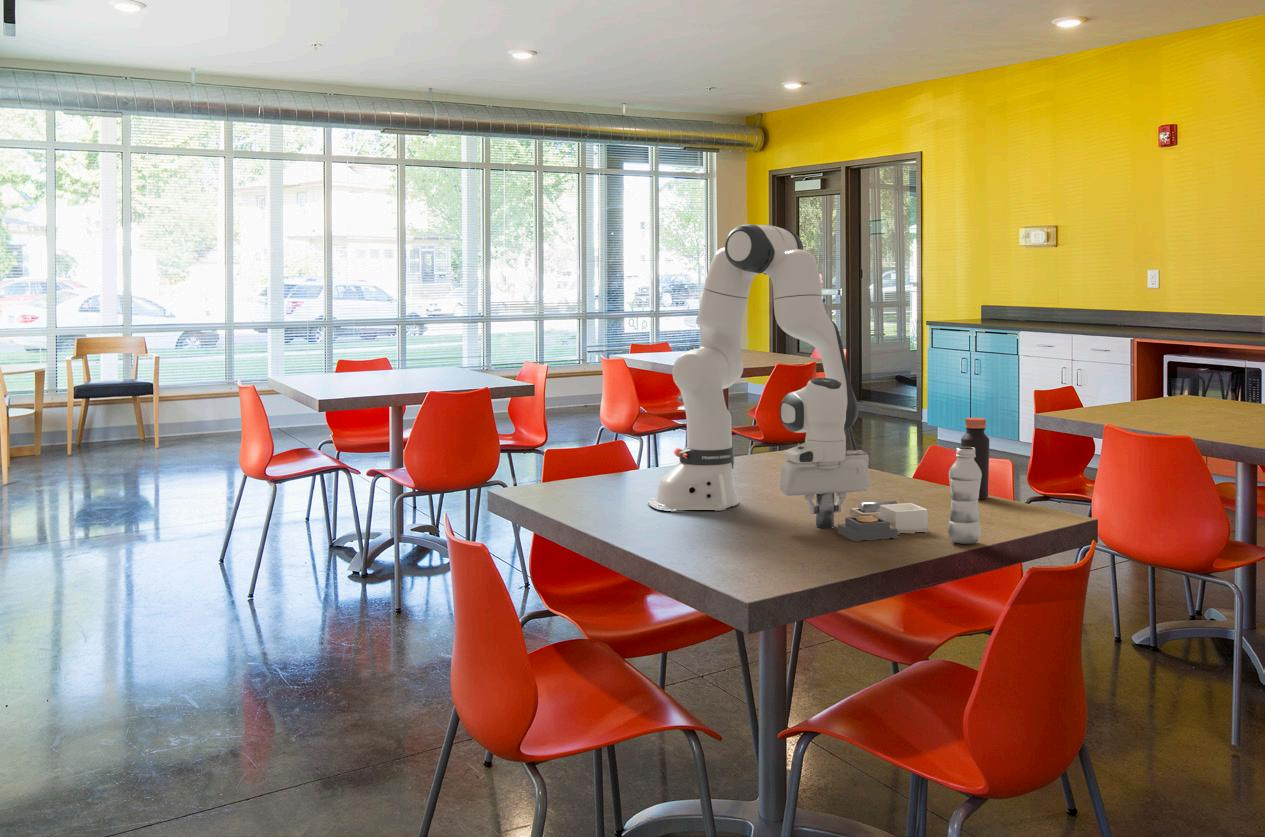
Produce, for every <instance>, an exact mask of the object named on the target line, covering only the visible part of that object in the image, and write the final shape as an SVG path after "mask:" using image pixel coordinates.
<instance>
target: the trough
mask: <svg viewBox="0 0 1265 837" xmlns="http://www.w3.org/2000/svg"><path fill="white" fill-rule="evenodd" d="M858 508H859V507H853V508H850V509H849V510H850V511H849V517H858V516H877V517H880V512H871V513H863V512H861V511H858Z"/></svg>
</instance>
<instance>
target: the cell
mask: <svg viewBox="0 0 1265 837" xmlns="http://www.w3.org/2000/svg"><path fill="white" fill-rule="evenodd" d="M834 503H835V493H833V492H832V493H823V494H815V505H816V506H818V514H815V527H816V526H817V527H816V528H818V527H821V528H820V529H825V528H827V529H832V527H833V528H835V513H834Z"/></svg>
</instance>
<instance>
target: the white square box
mask: <svg viewBox="0 0 1265 837" xmlns="http://www.w3.org/2000/svg"><path fill="white" fill-rule="evenodd" d="M928 515H929V509H927V508H925V507H922V506H919V505H917V504H915V503H913V502H908V503H907V502H906V503H905V502H903V503H897V504H888V505H880V518H882V519H884V520H886V521H888V522H890V525H891V526H893V527H894V528H896V529H897V535H901V534H900V533H911V534H916V533H915V532H925V533H927V532H926V531H928V530H929V529H928V525H929V524H928V522H929V516H928Z"/></svg>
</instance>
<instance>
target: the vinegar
mask: <svg viewBox="0 0 1265 837" xmlns="http://www.w3.org/2000/svg"><path fill="white" fill-rule="evenodd" d="M964 421H965V422H964V427H965V428H964V430H966V433H965V434H964V435H963V436H962V437H961V438H960V447H973V448H975V455H976V457H975V458H974V461H975V462H976V463H977V465H978V466H979V468H980V470H981V473H982V477H981V484H980V490H979V499H982V500H986V499H987V497H989V472H990V466H989V465H990V438H989V437H988V436H987V435H986V433H985V431H986V426H987V419H986V418H983V417H966V418H965V419H964ZM985 498H986V499H985Z"/></svg>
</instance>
